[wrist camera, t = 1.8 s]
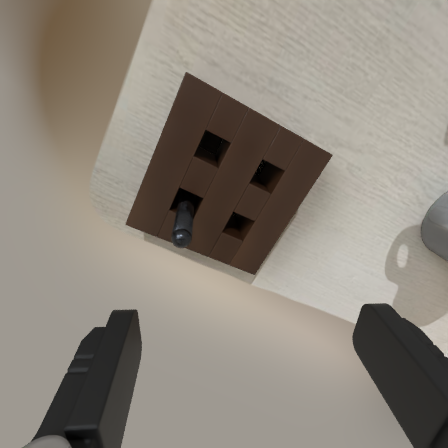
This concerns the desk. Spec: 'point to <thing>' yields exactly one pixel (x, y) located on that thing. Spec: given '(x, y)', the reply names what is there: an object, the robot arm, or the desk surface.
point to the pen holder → (226, 177)
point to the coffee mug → (437, 227)
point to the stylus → (183, 220)
